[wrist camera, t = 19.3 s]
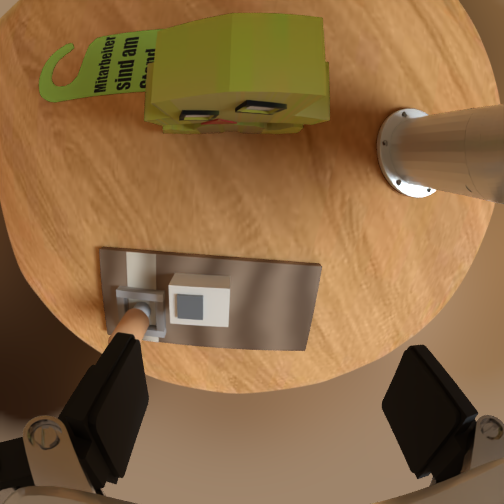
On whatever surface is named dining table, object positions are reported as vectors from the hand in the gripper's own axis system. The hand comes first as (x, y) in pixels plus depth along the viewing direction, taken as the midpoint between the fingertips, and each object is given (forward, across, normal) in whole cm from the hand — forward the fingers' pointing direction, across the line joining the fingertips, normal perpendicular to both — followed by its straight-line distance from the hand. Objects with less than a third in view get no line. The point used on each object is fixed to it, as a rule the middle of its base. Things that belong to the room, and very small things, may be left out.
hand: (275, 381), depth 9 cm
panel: (+28, +6, +12) cm, 30 cm away
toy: (+28, +4, -13) cm, 32 cm away
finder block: (+26, +6, +10) cm, 29 cm away
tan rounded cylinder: (+26, +14, +13) cm, 32 cm away
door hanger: (+28, +21, -20) cm, 40 cm away
